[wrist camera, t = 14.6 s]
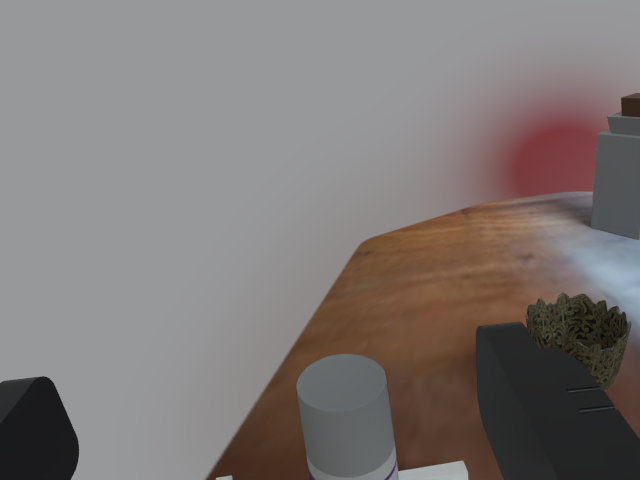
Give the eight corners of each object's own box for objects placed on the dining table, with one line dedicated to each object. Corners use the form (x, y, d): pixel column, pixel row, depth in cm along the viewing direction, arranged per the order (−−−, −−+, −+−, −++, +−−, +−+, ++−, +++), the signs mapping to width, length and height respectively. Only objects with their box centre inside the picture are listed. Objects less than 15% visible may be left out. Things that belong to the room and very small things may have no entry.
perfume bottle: (666, 225, 72) (684, 92, 66) (638, 240, 69) (654, 102, 63) (618, 214, 78) (630, 90, 71) (590, 227, 75) (600, 99, 68)
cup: (553, 436, 41) (557, 350, 38) (508, 379, 47) (509, 302, 44) (643, 417, 41) (654, 331, 38) (586, 363, 48) (592, 286, 45)
